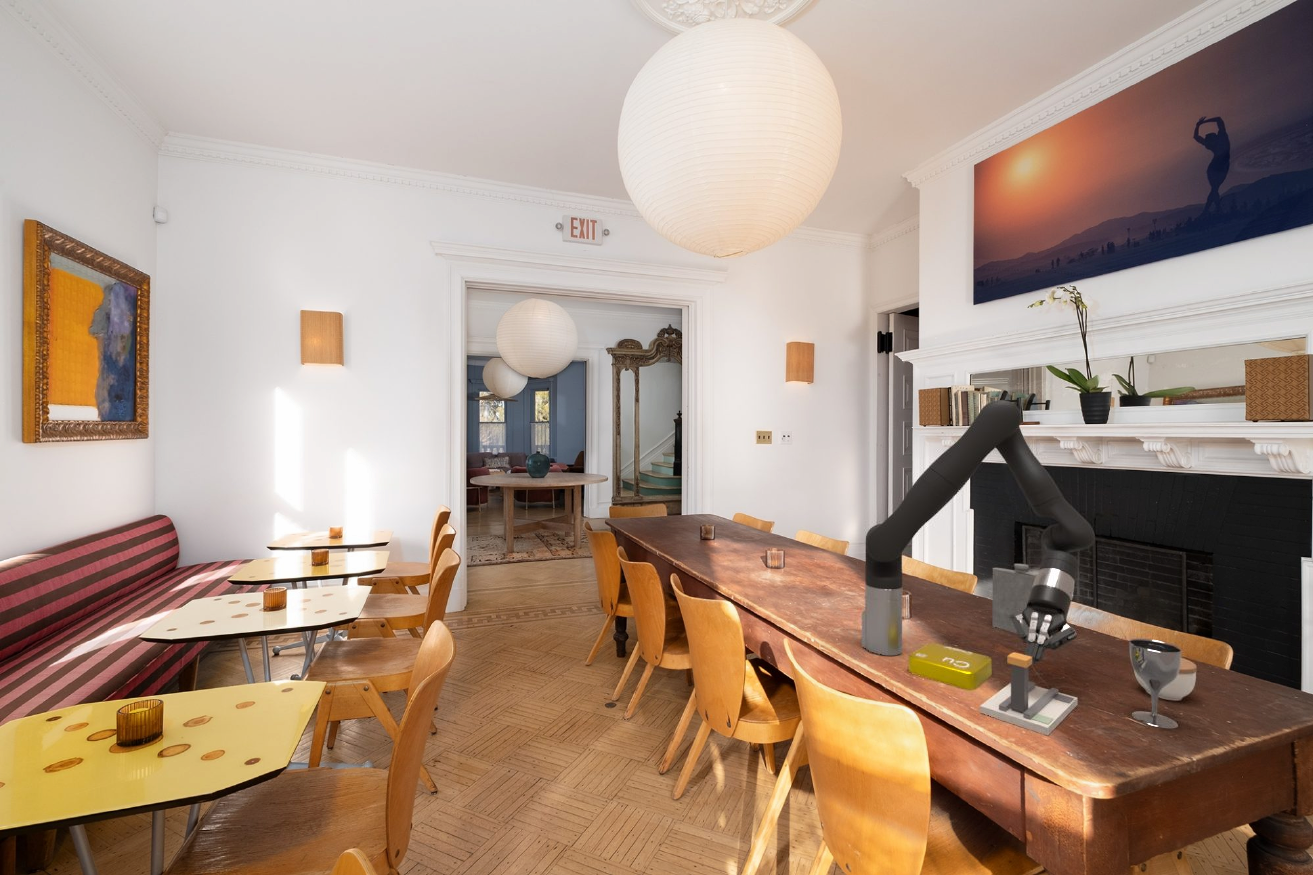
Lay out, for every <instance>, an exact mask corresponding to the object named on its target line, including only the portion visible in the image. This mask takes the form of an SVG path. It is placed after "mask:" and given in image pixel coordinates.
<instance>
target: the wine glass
mask: <svg viewBox="0 0 1313 875" xmlns="http://www.w3.org/2000/svg"><path fill="white" fill-rule="evenodd" d="M1129 656H1130V662H1131V666H1132V668H1133V670H1135V671H1136V673H1137V674H1138V675H1139V676H1140V677H1141V678H1142V680H1143V681H1144V682H1145V683H1146V684H1147V686H1148V688H1149V690H1150V692H1151V695H1150V697H1151V712H1150V711H1145V710H1144V711H1143V710H1142V711H1141V710H1140V711H1137V710H1136V711H1133V712H1132V713H1131V717H1133V718H1134V719H1135V720H1136V721H1139V722H1141V723H1143V724H1146V725H1148V726H1151V727H1156V728H1162V729H1172V730H1173V729H1176V728H1178V727H1179V724H1178V723H1177V721H1175V720H1174V719H1172V718H1169V717H1167V716H1165V715H1161V714H1158V700H1159V698H1158V695H1159V692H1160V691H1161V689H1162V688H1163V687H1165V686H1166V685H1167V684H1169V683H1170V682H1172V681H1173V680H1174V679H1176V677H1177V675H1178V673H1179V670H1180V665H1181V658H1182V649H1181V648H1180V647H1178V646H1177V645H1174V644H1172V643H1169V642H1165V641H1160V640H1156V639H1148V638H1132V639H1129Z"/></svg>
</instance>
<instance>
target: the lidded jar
mask: <svg viewBox="0 0 1313 875" xmlns="http://www.w3.org/2000/svg"><path fill="white" fill-rule="evenodd" d="M1197 667H1198V666H1197V665H1196V664H1195V662H1192V661H1191V660H1189V659H1187V658H1184V657H1181V665H1180V670H1179V673H1178V675H1177V677H1176V679H1174V680H1173V681H1172V682H1170V683H1169V684H1167V685H1166V686H1165V687H1163V688H1162V689H1161V691H1160V692H1159V695H1158V699H1162V700H1166V701H1167V700H1168V701H1183V700H1182V699H1183V698H1185V697H1187V696H1188V695H1190V693H1192V691H1193V690H1194V688H1195V685H1196V679H1197V672H1198V671H1197V670H1198V669H1197ZM1133 670H1134V669H1133ZM1133 672H1134V675H1135V678H1136V681H1137V682H1138V683H1139V684H1140V686H1141V688H1143V689H1144V690H1145V692H1146V693H1147V694H1149V695H1150V696H1151V692H1150V690H1149V688H1148V686H1147V684H1146V683H1145V682H1144V681H1143V680H1142V678H1141V677H1140V676H1139V675H1138V674H1137V673H1136V671H1135V670H1134V671H1133Z"/></svg>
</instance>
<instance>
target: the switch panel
mask: <svg viewBox="0 0 1313 875" xmlns="http://www.w3.org/2000/svg"><path fill="white" fill-rule="evenodd" d="M1078 700H1079V699H1078V697H1076V696H1073V695H1069V694H1066V693H1063V692H1062V693H1061V692H1059V689H1058V688H1054V687H1050V689H1048V688H1045V687H1041V686H1038V685H1036V683H1035V682H1034V681H1030V680H1028V709H1027V710H1026V711H1025V712H1024V713H1023V712H1020V711H1017V710H1014V709H1011V682H1010V683H1008V684H1007V685H1006V686H1005V687H1003V688H1002V689H1001V690H998V692H996V693H995V694H994V695H993V696H991V697H990V698H988V699H987V700H986V701H984V702H983V703H982V704H980V705H979V713H980V714H981V713H984V714H985V715H984V714H983V715H984V716H987V715H989V716H988V717H990V716H991V718H993V717H994V719H996V720H1000V721H1003V722H1005V723H1008V724H1012V725H1013V726H1017V727H1020V728H1023V729H1027V730H1029V731H1032V732H1036V733H1039V734H1041V735H1044V736H1049V735H1050V734H1051V733H1052V732H1053V731H1054V730H1055V729H1056V728H1057V727H1058V726H1059V725H1060V724H1061V723H1062V722H1063V721H1064V720H1065V719H1066V717H1067V716H1069V714H1071V712H1072V711H1073V710H1074V709H1075V708H1076V707H1077V706H1078Z"/></svg>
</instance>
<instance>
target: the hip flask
mask: <svg viewBox="0 0 1313 875" xmlns="http://www.w3.org/2000/svg"><path fill="white" fill-rule="evenodd" d="M1013 567H1014V570H1013V569H1007V568H1002V567H992V614H991V615H992V623H991V624H992V627H993V628H995V627H997V628H996V629H998V628H999V630H1003V629H1004V630H1003V631H1007V632H1011V633H1014V634H1017V635H1019V634H1018V633H1017V631H1016V629H1015V627H1014V626H1013V624H1012V622H1011V620H1010V617H1009V616H1010V615H1012V614H1013V615H1015V616H1017V615H1020V614H1022V611H1023V610H1024V609H1025V608H1026V607H1027V603H1028V600H1029V596H1030V593H1031V590H1032V587H1033V583H1034V580H1035V578H1036V576H1037V574H1038V573H1037V574H1036V573H1034V572H1031V571H1030V572H1029V570H1028V569H1030V568H1029V567H1030V566H1029V564H1025V563H1024V564H1023V563H1014V565H1013ZM1021 627H1022V628H1023V630H1024V632H1025V633H1026V635H1028V636H1029V627H1028V626H1027V624H1026V622H1025V620H1023V625H1022V626H1021Z"/></svg>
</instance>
